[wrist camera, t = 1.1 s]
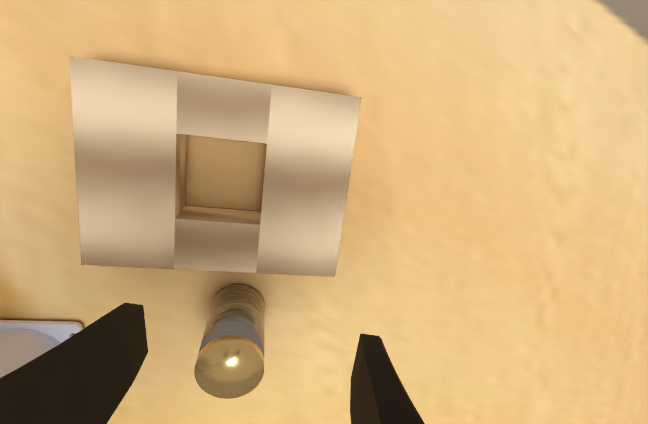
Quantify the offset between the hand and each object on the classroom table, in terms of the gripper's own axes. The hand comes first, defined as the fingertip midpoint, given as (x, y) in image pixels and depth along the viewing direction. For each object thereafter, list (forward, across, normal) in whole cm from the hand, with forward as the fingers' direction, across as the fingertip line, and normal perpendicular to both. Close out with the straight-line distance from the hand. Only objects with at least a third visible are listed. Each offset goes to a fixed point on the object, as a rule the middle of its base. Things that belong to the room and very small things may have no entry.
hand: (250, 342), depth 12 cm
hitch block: (+15, +5, 0) cm, 15 cm away
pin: (+13, +4, +10) cm, 17 cm away
